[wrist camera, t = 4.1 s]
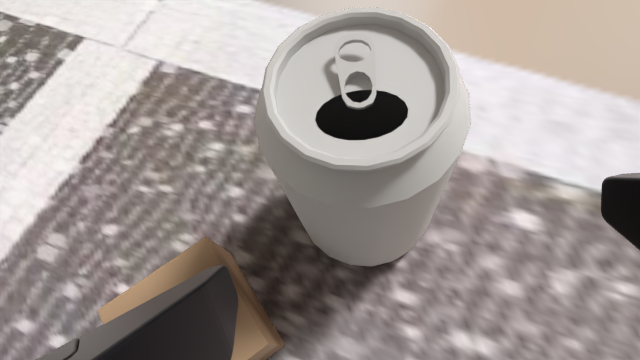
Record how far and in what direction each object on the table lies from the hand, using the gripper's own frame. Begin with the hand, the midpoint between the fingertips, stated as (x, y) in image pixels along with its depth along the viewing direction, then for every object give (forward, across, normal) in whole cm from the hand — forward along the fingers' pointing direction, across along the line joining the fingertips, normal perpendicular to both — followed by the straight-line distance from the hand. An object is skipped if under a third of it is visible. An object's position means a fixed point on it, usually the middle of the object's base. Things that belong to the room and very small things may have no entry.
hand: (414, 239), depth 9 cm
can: (+13, 0, -5) cm, 14 cm away
